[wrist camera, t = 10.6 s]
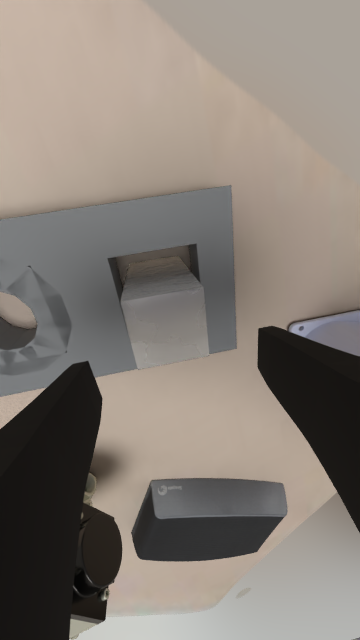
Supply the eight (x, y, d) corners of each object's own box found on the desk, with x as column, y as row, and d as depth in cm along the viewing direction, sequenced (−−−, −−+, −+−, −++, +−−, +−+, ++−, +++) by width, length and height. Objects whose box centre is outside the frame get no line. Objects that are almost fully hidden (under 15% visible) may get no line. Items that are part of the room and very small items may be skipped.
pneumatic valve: (18, 495, 26) (-71, 701, 15) (99, 442, 24) (63, 629, 13) (58, 512, 28) (6, 700, 17) (133, 465, 26) (128, 640, 16)
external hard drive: (152, 471, 28) (154, 510, 24) (283, 476, 33) (301, 509, 29) (130, 530, 33) (128, 570, 29) (247, 526, 38) (259, 560, 34)
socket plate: (215, 189, 16) (231, 185, 13) (224, 330, 20) (236, 348, 18) (-100, 237, 14) (-157, 243, 11) (-11, 376, 19) (-36, 404, 16)
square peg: (177, 255, 17) (203, 287, 10) (183, 300, 19) (209, 355, 12) (129, 263, 17) (120, 301, 10) (139, 308, 18) (137, 369, 11)
